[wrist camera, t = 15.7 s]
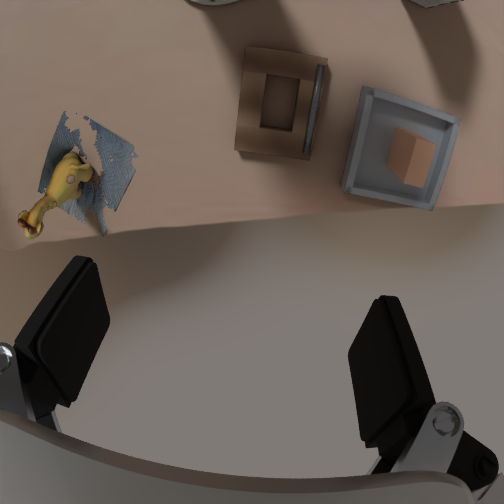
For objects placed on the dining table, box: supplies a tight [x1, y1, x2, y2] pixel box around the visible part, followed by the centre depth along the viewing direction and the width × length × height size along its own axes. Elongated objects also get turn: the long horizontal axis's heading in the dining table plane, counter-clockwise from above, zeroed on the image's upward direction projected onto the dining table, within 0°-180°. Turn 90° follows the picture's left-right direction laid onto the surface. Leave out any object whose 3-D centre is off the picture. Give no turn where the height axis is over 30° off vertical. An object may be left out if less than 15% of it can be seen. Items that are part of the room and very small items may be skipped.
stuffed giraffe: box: [18, 111, 139, 239], centre depth 37 cm, size 16×18×16 cm
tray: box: [341, 86, 460, 211], centre depth 38 cm, size 15×15×2 cm
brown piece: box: [234, 46, 328, 161], centre depth 36 cm, size 14×10×2 cm
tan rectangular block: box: [386, 126, 436, 188], centre depth 35 cm, size 6×3×7 cm, turn 173°
